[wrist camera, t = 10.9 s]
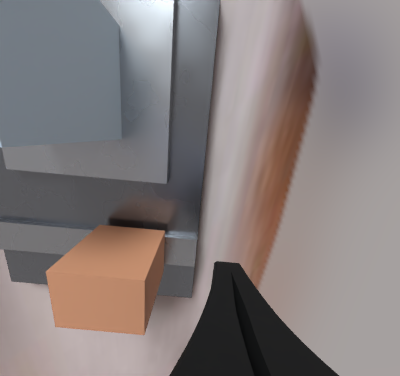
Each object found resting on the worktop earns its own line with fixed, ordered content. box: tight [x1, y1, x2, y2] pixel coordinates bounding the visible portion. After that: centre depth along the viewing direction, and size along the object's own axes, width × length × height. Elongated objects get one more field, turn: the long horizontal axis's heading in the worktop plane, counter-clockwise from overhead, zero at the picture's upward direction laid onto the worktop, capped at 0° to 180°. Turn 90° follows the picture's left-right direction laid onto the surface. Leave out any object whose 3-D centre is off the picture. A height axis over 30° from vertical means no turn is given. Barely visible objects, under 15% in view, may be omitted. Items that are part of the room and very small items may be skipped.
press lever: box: [46, 225, 165, 335], centre depth 10 cm, size 3×4×4 cm
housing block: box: [0, 0, 122, 147], centre depth 6 cm, size 5×4×6 cm
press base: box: [0, 0, 220, 298], centre depth 11 cm, size 18×13×2 cm
